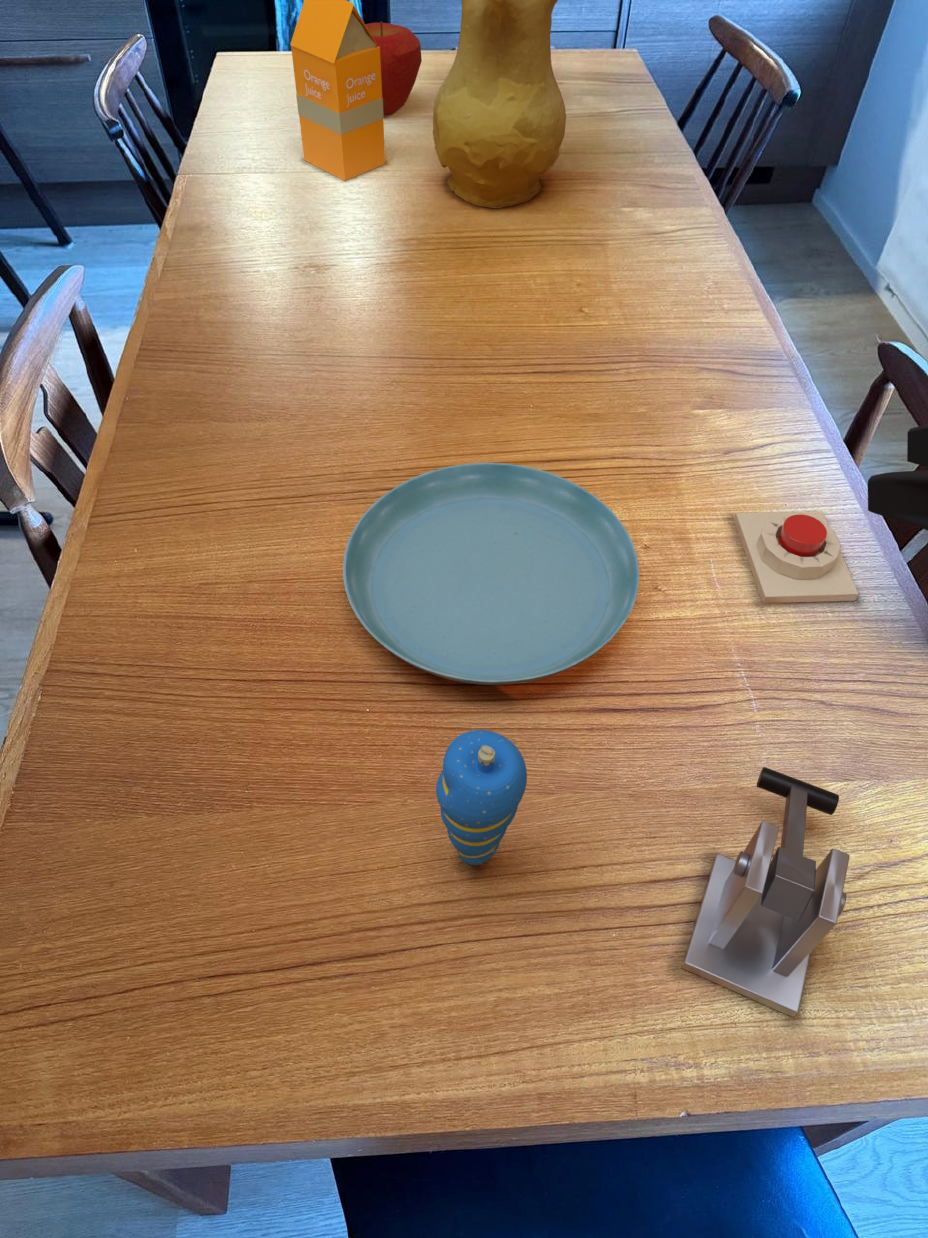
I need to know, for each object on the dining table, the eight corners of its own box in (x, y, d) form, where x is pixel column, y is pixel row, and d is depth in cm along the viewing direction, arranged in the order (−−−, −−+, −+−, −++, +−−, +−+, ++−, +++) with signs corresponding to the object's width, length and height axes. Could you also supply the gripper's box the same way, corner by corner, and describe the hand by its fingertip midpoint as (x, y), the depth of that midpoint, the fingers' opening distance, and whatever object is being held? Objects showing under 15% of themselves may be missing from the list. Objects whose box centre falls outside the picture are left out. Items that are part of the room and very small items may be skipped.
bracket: (713, 858, 61) (752, 788, 53) (817, 901, 59) (873, 834, 51) (681, 968, 56) (718, 908, 48) (793, 1018, 54) (850, 963, 47)
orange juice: (345, 143, 129) (331, -21, 114) (386, 163, 125) (378, -4, 110) (302, 160, 126) (283, -8, 110) (344, 181, 122) (329, 11, 106)
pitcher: (402, 184, 121) (408, -40, 102) (490, 147, 131) (510, -63, 112) (500, 231, 114) (526, 1, 95) (585, 189, 124) (623, -27, 105)
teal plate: (426, 459, 86) (426, 431, 83) (669, 540, 80) (676, 513, 77) (290, 637, 72) (284, 610, 69) (571, 752, 66) (576, 727, 63)
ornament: (452, 816, 62) (455, 693, 51) (523, 840, 61) (543, 720, 50) (425, 883, 59) (422, 769, 47) (500, 910, 58) (515, 799, 46)
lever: (754, 785, 61) (767, 757, 60) (828, 813, 60) (842, 785, 59) (735, 896, 51) (750, 864, 50) (824, 933, 50) (840, 901, 49)
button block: (855, 601, 75) (866, 581, 74) (762, 603, 75) (770, 583, 73) (819, 517, 82) (828, 497, 80) (733, 519, 81) (740, 499, 79)
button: (826, 556, 76) (832, 543, 75) (784, 557, 76) (790, 544, 74) (813, 526, 78) (819, 513, 77) (773, 527, 78) (778, 514, 77)
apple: (436, 110, 137) (435, 20, 128) (386, 132, 132) (382, 39, 123) (384, 90, 142) (380, 1, 132) (334, 110, 136) (327, 19, 127)
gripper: (1192, 359, 49) (925, 366, 58) (1158, 462, 41) (848, 452, 49) (1173, 478, 53) (923, 468, 61) (1137, 596, 44) (851, 565, 52)
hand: (889, 468), depth 55 cm, fingers open, 7 cm apart
